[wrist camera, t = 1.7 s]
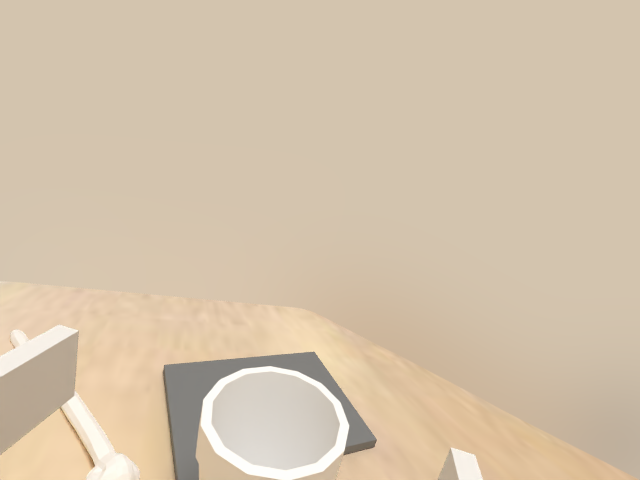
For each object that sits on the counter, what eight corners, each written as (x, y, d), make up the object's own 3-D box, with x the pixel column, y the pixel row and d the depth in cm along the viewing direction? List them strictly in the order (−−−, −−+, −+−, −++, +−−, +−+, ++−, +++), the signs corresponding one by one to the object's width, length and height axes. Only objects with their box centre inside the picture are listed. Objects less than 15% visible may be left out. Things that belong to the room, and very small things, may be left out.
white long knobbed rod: (-20, 344, 42) (-21, 323, 41) (24, 333, 45) (24, 313, 44) (94, 524, 27) (96, 496, 26) (147, 488, 30) (150, 462, 30)
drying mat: (312, 357, 53) (314, 351, 53) (374, 447, 40) (376, 439, 39) (163, 372, 43) (164, 364, 43) (177, 496, 30) (179, 487, 30)
